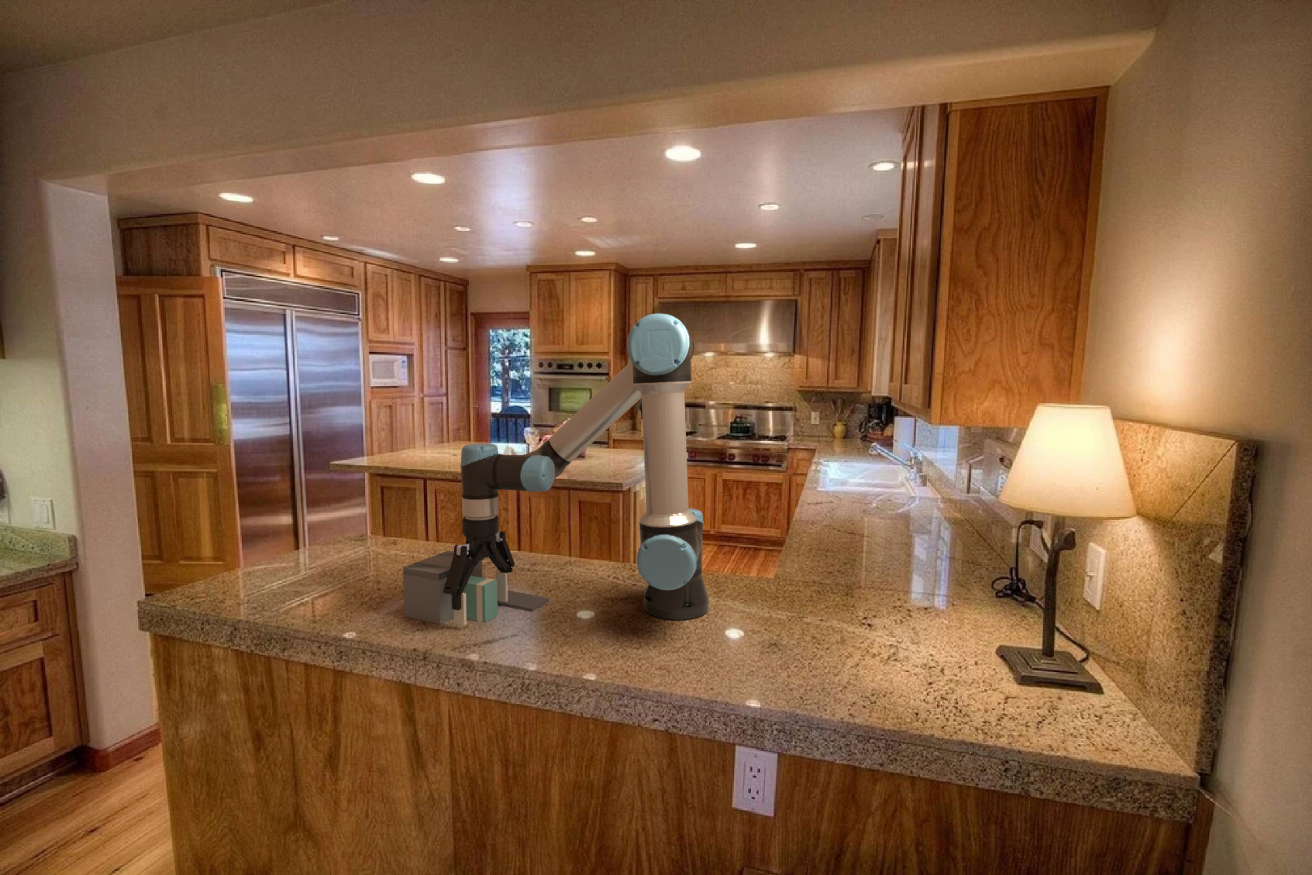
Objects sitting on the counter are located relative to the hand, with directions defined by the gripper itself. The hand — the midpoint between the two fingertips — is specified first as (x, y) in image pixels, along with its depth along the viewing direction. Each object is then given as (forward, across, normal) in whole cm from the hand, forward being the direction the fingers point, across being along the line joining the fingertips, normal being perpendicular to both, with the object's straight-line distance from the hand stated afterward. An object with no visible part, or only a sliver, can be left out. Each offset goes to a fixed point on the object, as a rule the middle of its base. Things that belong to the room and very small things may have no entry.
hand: (482, 611), depth 124 cm
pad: (+1, -10, +2) cm, 11 cm away
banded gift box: (+1, 0, -4) cm, 4 cm away
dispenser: (+1, 0, -10) cm, 11 cm away
